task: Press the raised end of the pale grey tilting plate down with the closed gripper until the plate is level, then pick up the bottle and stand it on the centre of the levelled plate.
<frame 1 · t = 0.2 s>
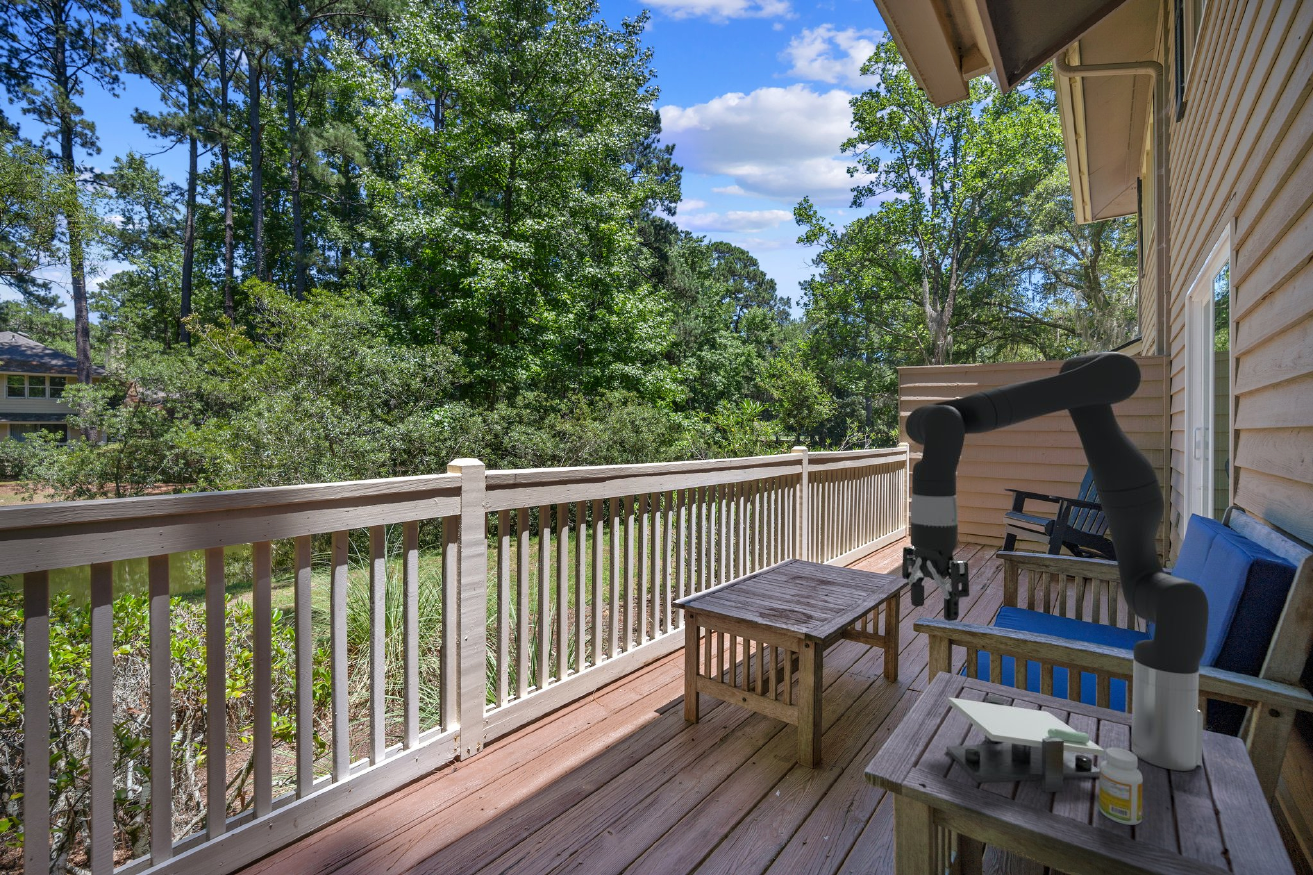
hand: (933, 612, 111), 28 cm above the table, tool pointing down, fingers open, 8 cm apart
supplement bottle: (1120, 816, 99), on the table
levelling plate: (1022, 720, 113), point 8 cm above the table, hinge at -10.0°
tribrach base: (1020, 763, 113), on the table
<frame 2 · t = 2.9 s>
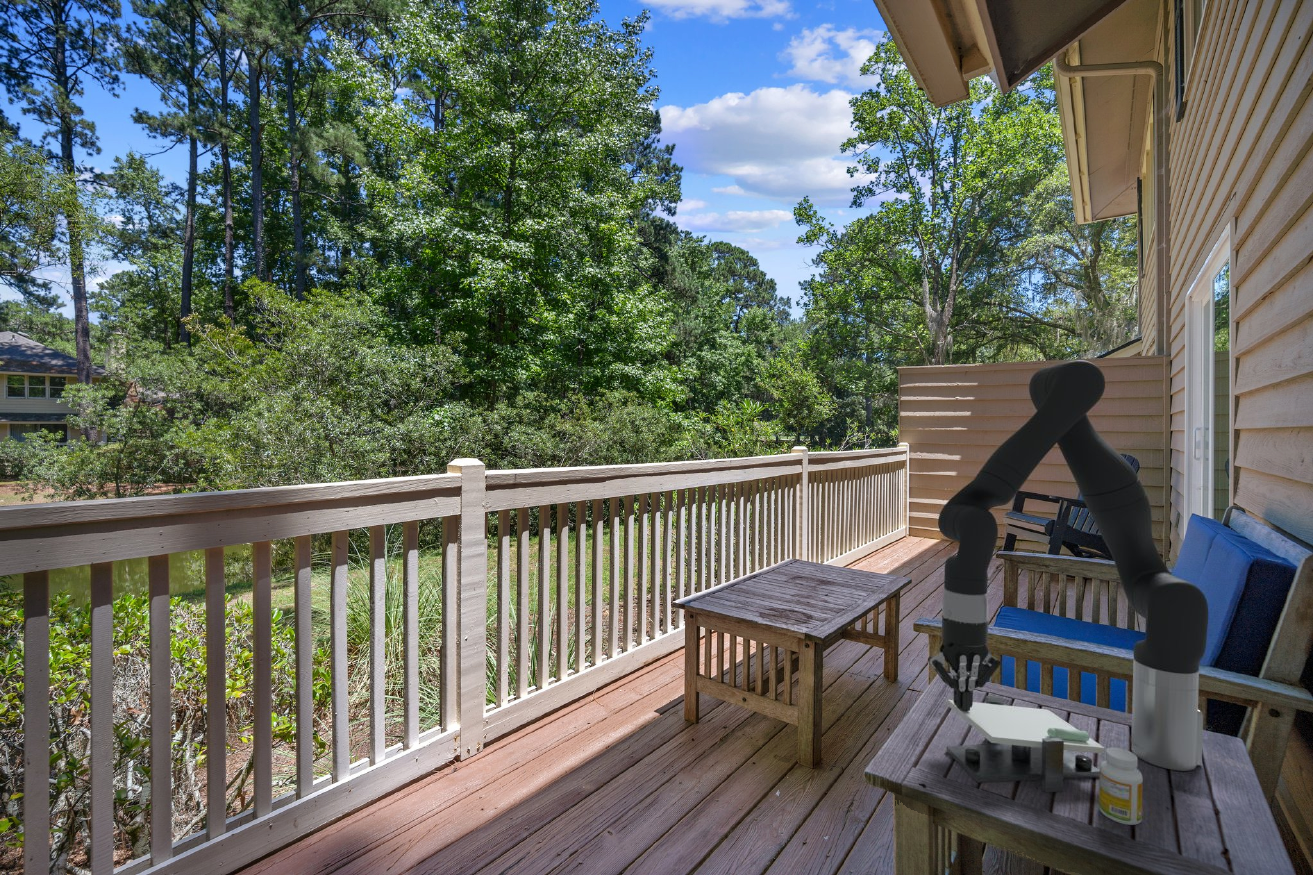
hand: (962, 708, 115), 9 cm above the table, tool pointing down, fingers closed
levelling plate: (1022, 720, 113), point 8 cm above the table, hinge at -7.6°, touching gripper
everything else where it was.
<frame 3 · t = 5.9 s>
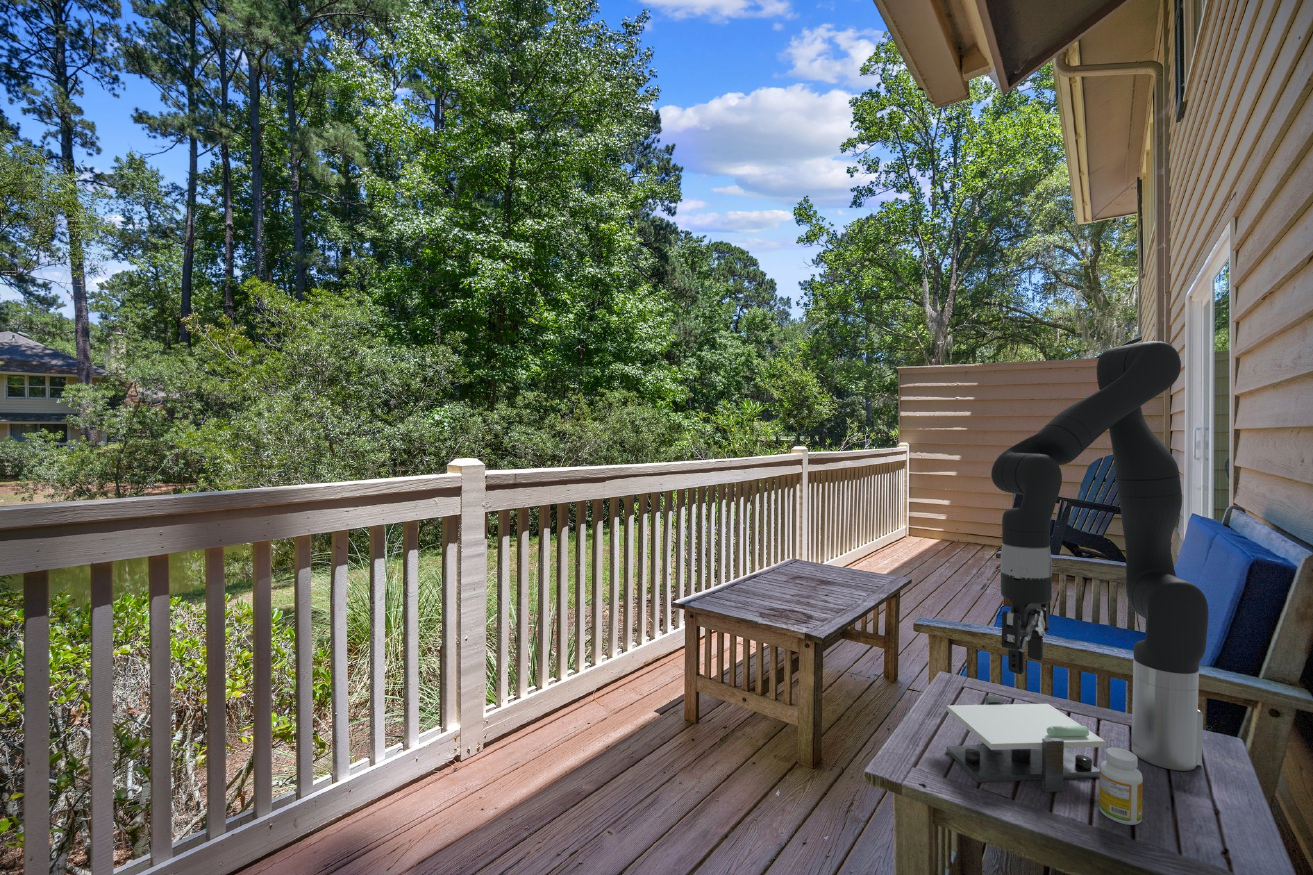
hand: (1026, 665, 108), 20 cm above the table, tool pointing down, fingers open, 8 cm apart
levelling plate: (1021, 720, 113), point 8 cm above the table, hinge at -1.0°
everything else where it was.
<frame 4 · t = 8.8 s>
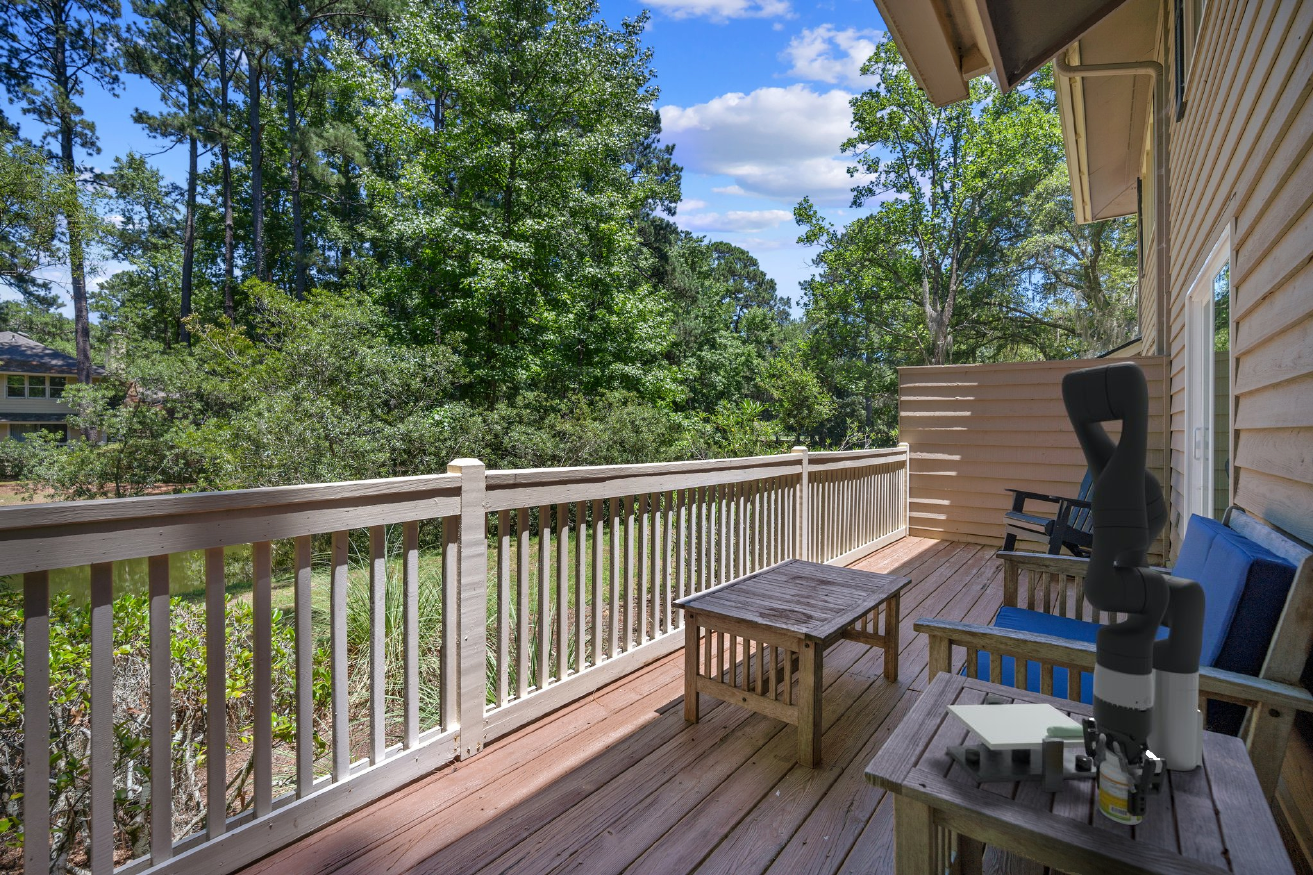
hand: (1120, 802, 99), 2 cm above the table, tool pointing down, fingers closed on supplement bottle, 5 cm apart
supplement bottle: (1119, 816, 99), on the table, touching gripper
everything else where it was.
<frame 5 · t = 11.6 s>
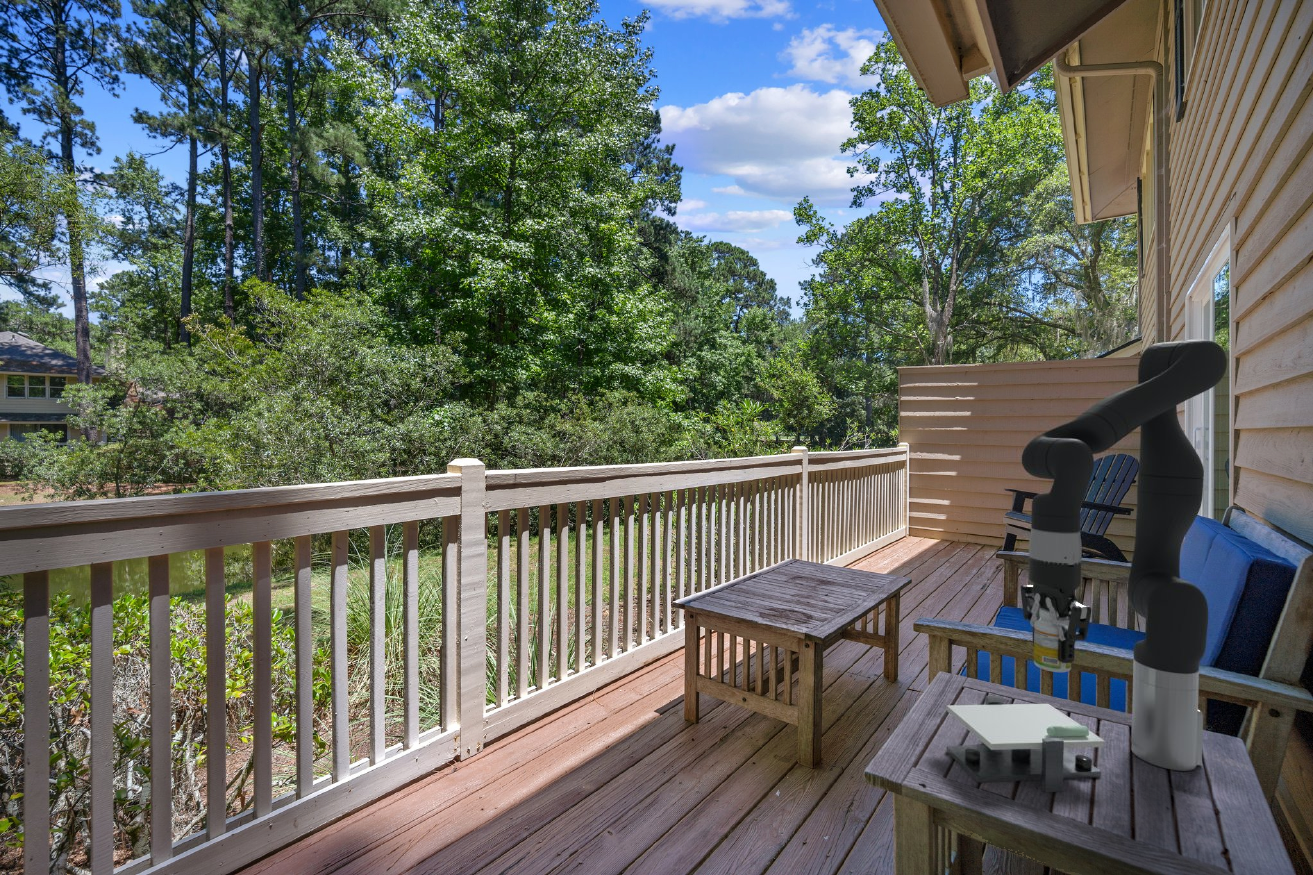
hand: (1052, 654, 108), 21 cm above the table, tool pointing down, fingers closed on supplement bottle, 5 cm apart
supplement bottle: (1052, 667, 108), point 19 cm above the table, touching gripper
everything else where it was.
when the fingers open (11 cm above the table, at t = 14.5 s): supplement bottle drops 1 cm, resting on levelling plate.
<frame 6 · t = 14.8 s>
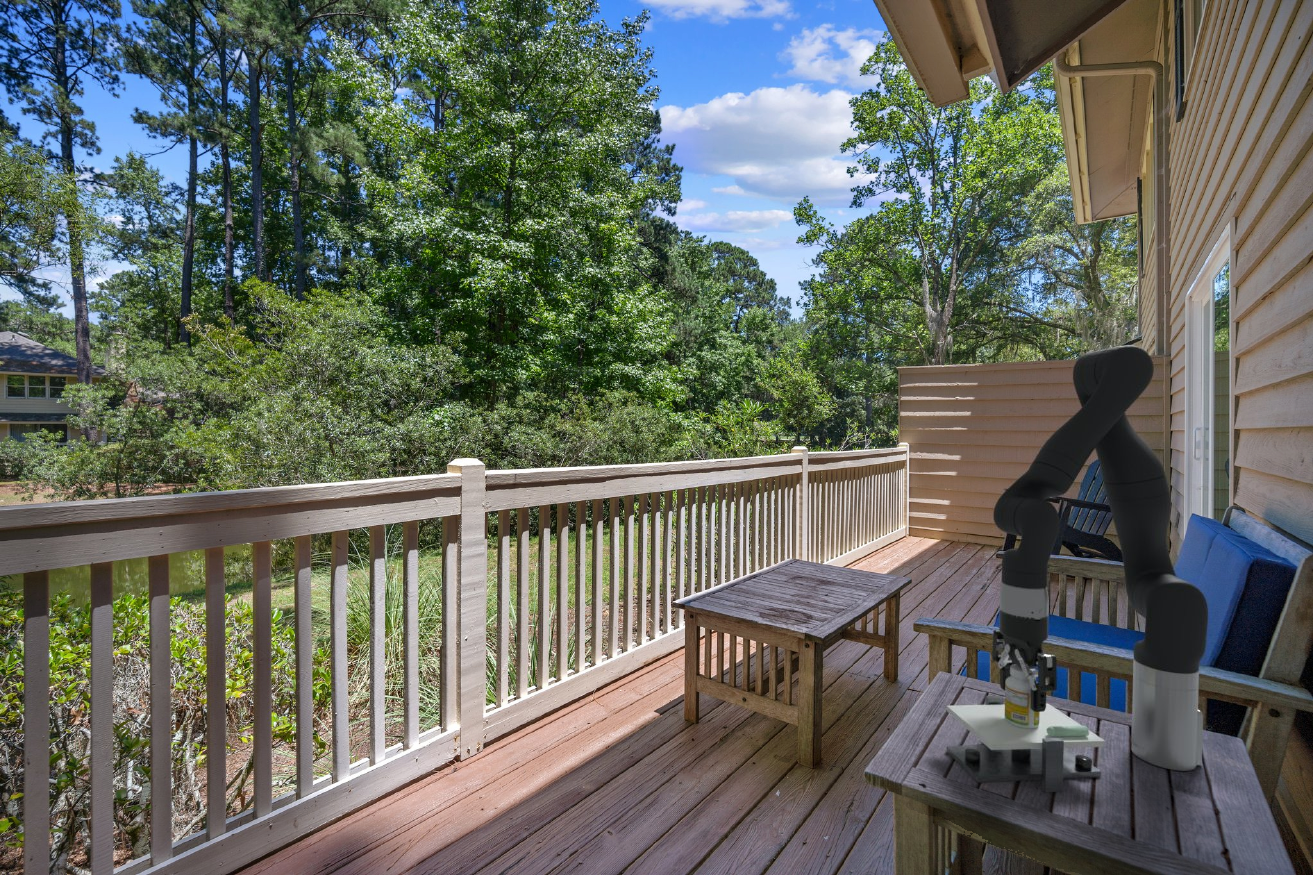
hand: (1022, 699, 113), 12 cm above the table, tool pointing down, fingers open, 8 cm apart
supplement bottle: (1021, 723, 113), point 7 cm above the table, touching levelling plate
levelling plate: (1021, 720, 113), point 8 cm above the table, hinge at -0.8°, touching supplement bottle
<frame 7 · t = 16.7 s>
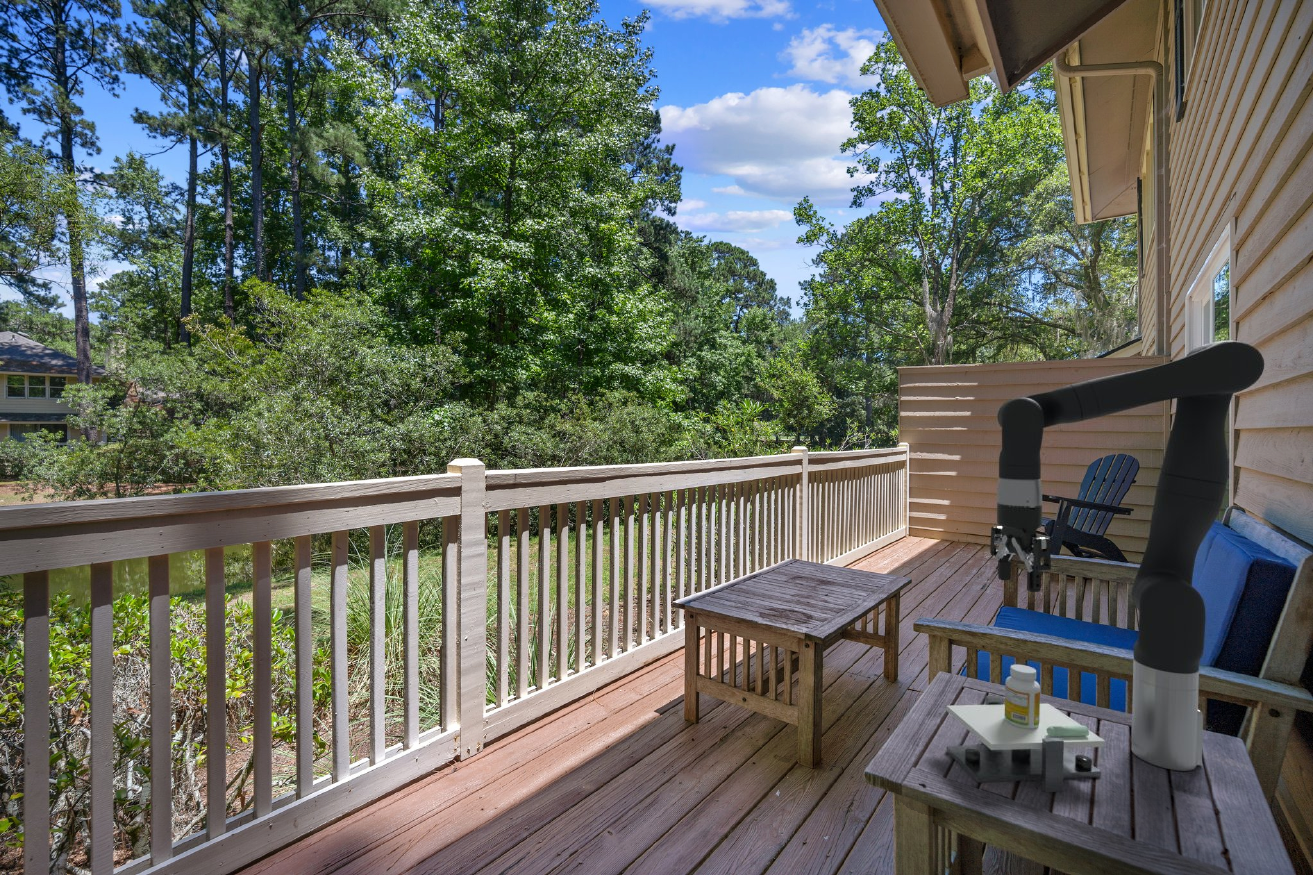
hand: (1018, 585, 123), 29 cm above the table, tool pointing down, fingers open, 8 cm apart
nothing on the table moved.
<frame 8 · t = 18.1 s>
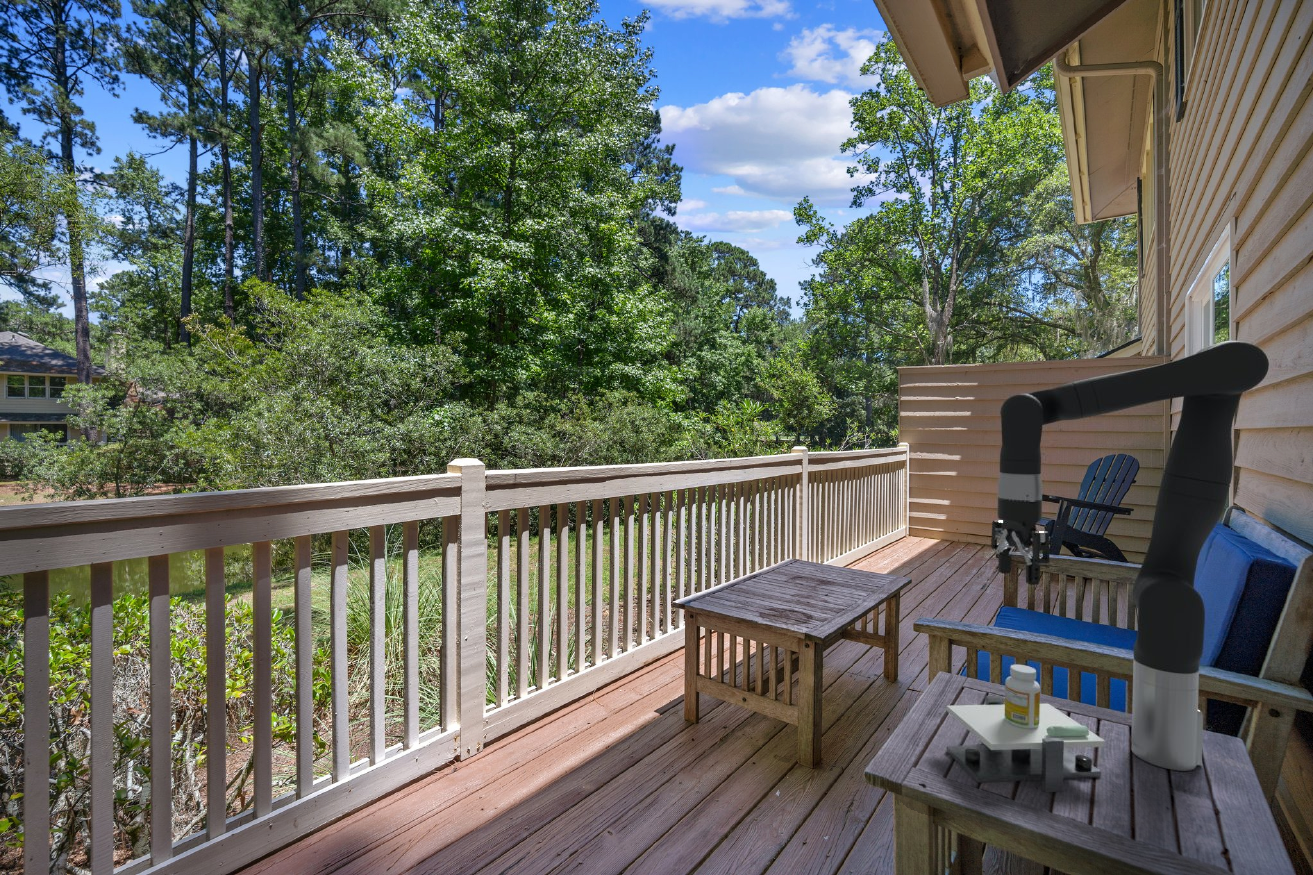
hand: (1018, 578, 125), 30 cm above the table, tool pointing down, fingers open, 8 cm apart
nothing on the table moved.
at the end: levelling plate at -1° (first picture: -10°); supplement bottle inside the target area on the levelling plate (0.0 cm from its centre), point 0.3 cm above the levelling plate's base; supplement bottle tilted 1° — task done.
